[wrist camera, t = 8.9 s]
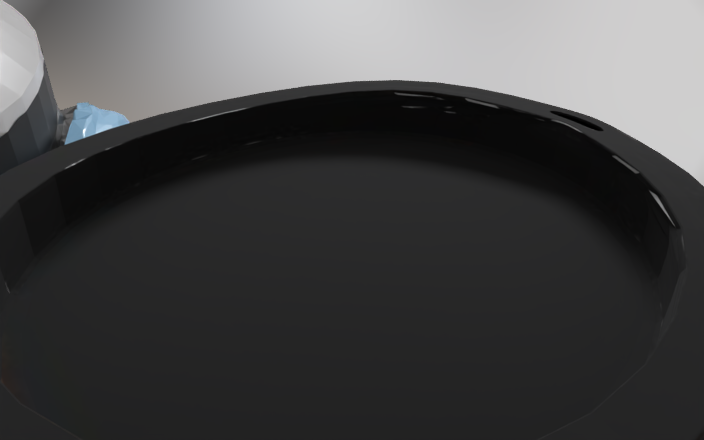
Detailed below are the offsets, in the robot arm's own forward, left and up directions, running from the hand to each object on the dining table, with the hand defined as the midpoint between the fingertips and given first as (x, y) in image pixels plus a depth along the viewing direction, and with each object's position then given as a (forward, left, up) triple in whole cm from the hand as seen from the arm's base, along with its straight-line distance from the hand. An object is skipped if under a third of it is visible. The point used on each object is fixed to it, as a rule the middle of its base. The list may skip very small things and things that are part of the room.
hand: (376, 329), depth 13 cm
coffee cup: (0, -5, -9) cm, 10 cm away
